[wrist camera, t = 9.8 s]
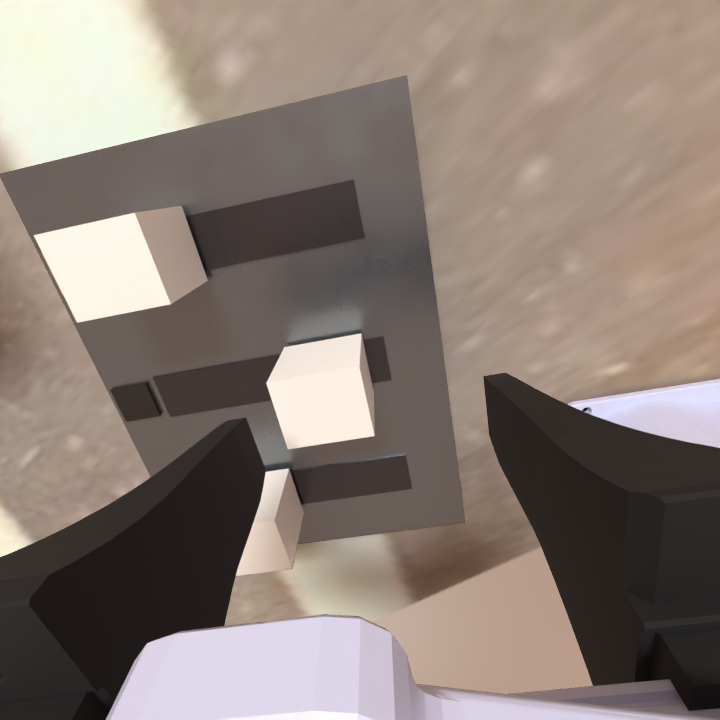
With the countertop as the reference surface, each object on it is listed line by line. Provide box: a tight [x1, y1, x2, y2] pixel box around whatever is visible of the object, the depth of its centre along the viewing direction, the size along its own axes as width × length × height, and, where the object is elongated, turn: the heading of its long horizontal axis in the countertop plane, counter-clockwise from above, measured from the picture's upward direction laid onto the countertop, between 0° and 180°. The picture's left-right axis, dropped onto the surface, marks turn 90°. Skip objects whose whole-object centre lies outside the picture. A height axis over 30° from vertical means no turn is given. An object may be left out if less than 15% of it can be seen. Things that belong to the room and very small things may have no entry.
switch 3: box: [266, 334, 375, 449], centre depth 17 cm, size 4×3×4 cm
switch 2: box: [236, 468, 304, 576], centre depth 20 cm, size 4×3×4 cm
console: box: [0, 75, 465, 544], centre depth 20 cm, size 16×21×2 cm
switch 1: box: [34, 206, 208, 323], centre depth 15 cm, size 4×3×4 cm
